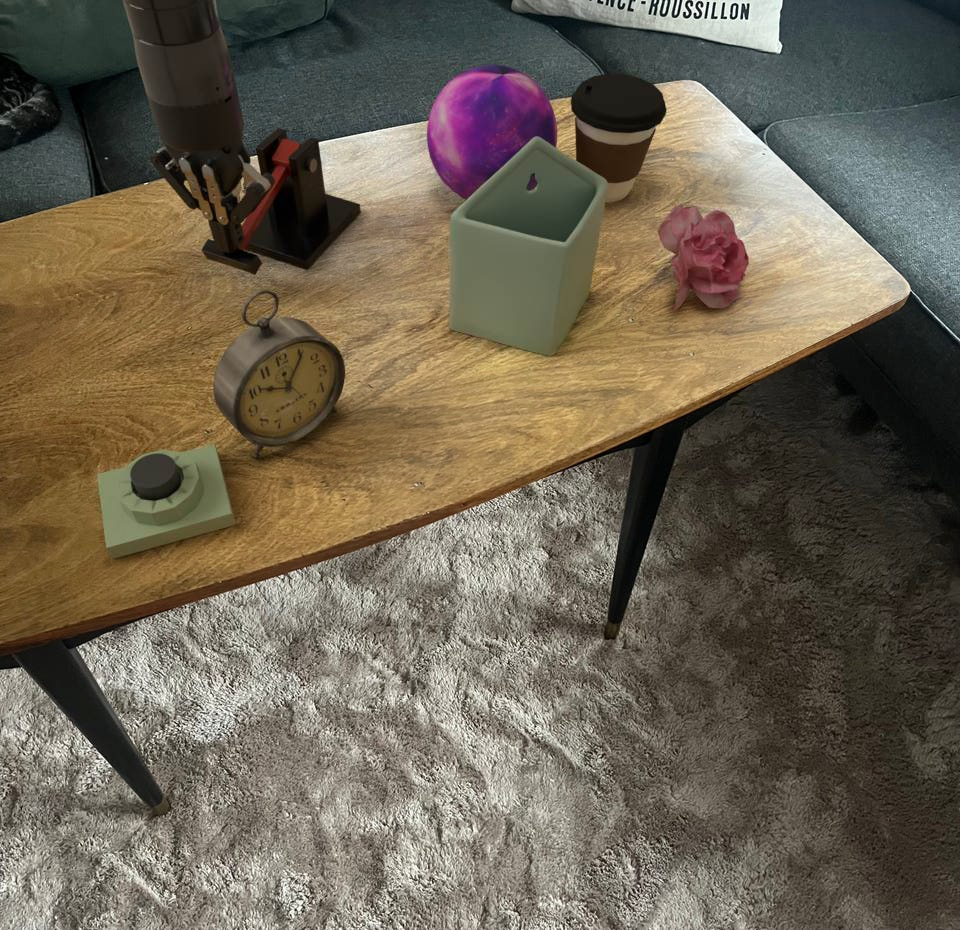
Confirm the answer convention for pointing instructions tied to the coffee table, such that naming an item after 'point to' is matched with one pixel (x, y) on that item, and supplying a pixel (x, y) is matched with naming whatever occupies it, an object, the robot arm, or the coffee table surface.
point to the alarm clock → (278, 379)
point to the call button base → (165, 504)
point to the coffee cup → (616, 127)
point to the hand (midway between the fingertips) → (231, 247)
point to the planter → (526, 250)
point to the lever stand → (299, 207)
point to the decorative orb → (486, 125)
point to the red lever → (255, 216)
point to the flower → (704, 255)
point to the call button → (155, 476)
